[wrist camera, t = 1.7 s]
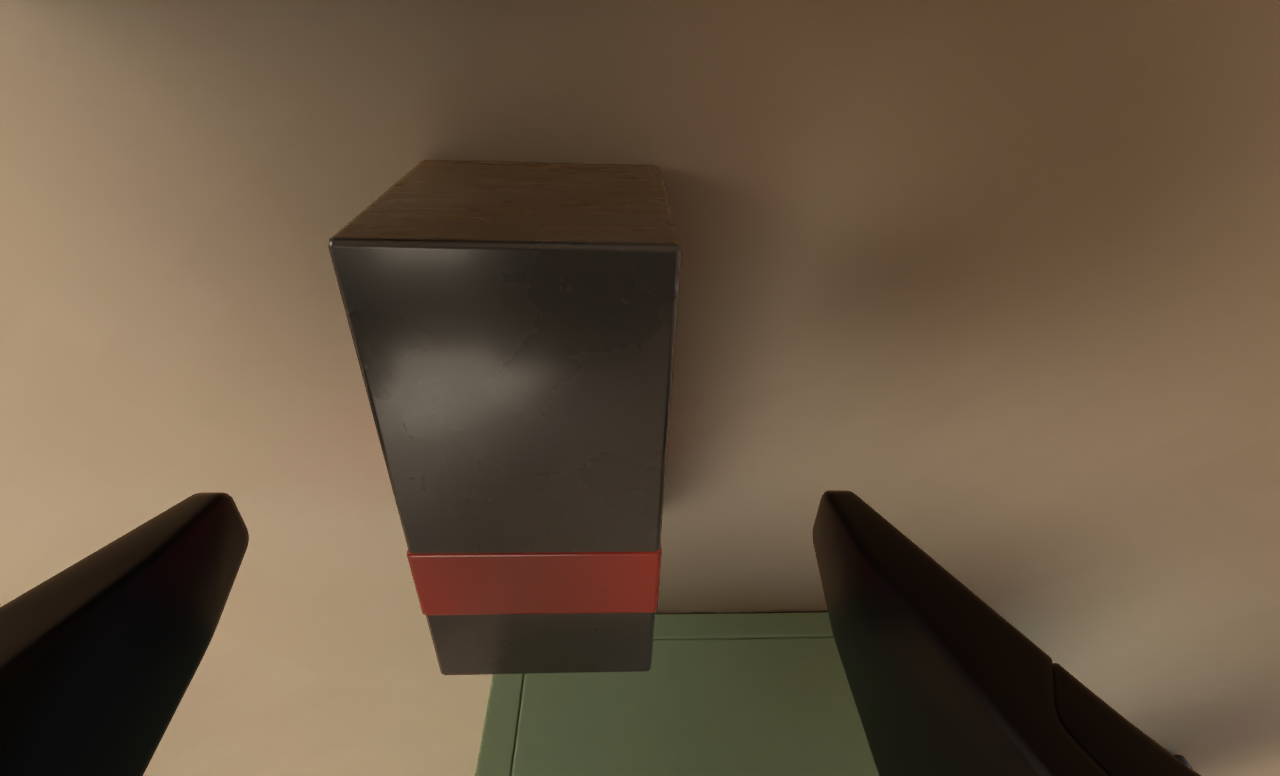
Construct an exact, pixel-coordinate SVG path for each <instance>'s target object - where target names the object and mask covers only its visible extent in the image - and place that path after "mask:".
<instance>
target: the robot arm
mask: <svg viewBox="0 0 1280 776" xmlns="http://www.w3.org/2000/svg"><path fill="white" fill-rule="evenodd" d="M248 541H249V535H248V530H247V527H246V525H245V523H244V521H243V519H242V517H241V515H240V513H239V511H238V508H237V506H236V504H235V502H234V500H233V498H232V497H231V496H230V495H228V494H226V493H197V494H194V495H192V496H190V497H189V498H187V499H185V500H183V501H182V502H180V503H178V504H177V505H175V506H173V507H171V508H170V509H168V510H166V511H165V512H163V513H161V514H159V515H158V516H156V517H154V518H153V519H151V520H149V521H148V522H146V523H144V524H142V525H141V526H139V527H137V528H136V529H134V530H132V531H130V532H129V533H127V534H125V535H124V536H122V537H120V538H118V539H117V540H115V541H113V542H112V543H110V544H108V545H106V546H105V547H103V548H101V549H100V550H98V551H96V552H94V553H93V554H91V555H89V556H88V557H86V558H84V559H82V560H81V561H79V562H77V563H76V564H74V565H72V566H70V567H69V568H67V569H65V570H64V571H62V572H60V573H59V574H57V575H55V576H53V577H52V578H50V579H48V580H47V581H45V582H43V583H41V584H40V585H38V586H36V587H35V588H33V589H31V590H29V591H28V592H26V593H24V594H23V595H21V596H19V597H17V598H16V599H14V600H12V601H11V602H9V603H7V604H5V605H4V606H2V607H0V776H143V774H144V772H145V770H146V768H147V766H148V764H149V762H150V760H151V758H152V756H153V754H154V752H155V750H156V748H157V747H158V745H159V743H160V741H161V739H162V737H163V735H164V733H165V731H166V729H167V727H168V725H169V723H170V721H171V719H172V717H173V715H174V713H175V711H176V709H177V707H178V705H179V703H180V701H181V699H182V697H183V695H184V693H185V692H186V690H187V688H188V686H189V684H190V682H191V680H192V678H193V676H194V674H195V672H196V670H197V668H198V666H199V664H200V662H201V660H202V658H203V656H204V654H205V652H206V650H207V648H208V646H209V643H210V641H211V639H212V636H213V634H214V632H215V629H216V627H217V625H218V622H219V619H220V617H221V614H222V612H223V609H224V606H225V604H226V601H227V599H228V596H229V593H230V591H231V588H232V586H233V583H234V580H235V578H236V575H237V573H238V570H239V567H240V565H241V562H242V560H243V557H244V554H245V552H246V549H247V546H248ZM813 543H814V548H815V552H816V557H817V562H818V567H819V572H820V576H821V581H822V586H823V591H824V596H825V600H826V605H827V610H828V615H829V619H830V624H831V628H832V632H833V636H834V639H835V642H836V646H837V649H838V652H839V655H840V658H841V661H842V664H843V667H844V670H845V673H846V676H847V680H848V683H849V686H850V689H851V692H852V695H853V698H854V701H855V704H856V707H857V710H858V713H859V716H860V719H861V722H862V725H863V728H864V731H865V734H866V737H867V740H868V743H869V746H870V750H871V753H872V756H873V759H874V762H875V765H876V768H877V771H878V774H879V776H1200V775H1199V774H1198V773H1196V772H1195V771H1194V770H1193V769H1192V767H1191V766H1190V764H1189V763H1188V762H1187V760H1186V759H1185V758H1184V756H1182V755H1172V754H1171V753H1169V752H1168V751H1167V750H1166V749H1164V748H1163V747H1162V746H1160V745H1159V744H1158V743H1156V742H1155V741H1154V740H1152V739H1151V738H1150V737H1148V736H1147V735H1146V734H1144V733H1143V732H1142V731H1141V730H1139V729H1138V728H1137V727H1135V726H1134V725H1133V724H1131V723H1130V722H1129V721H1127V720H1126V719H1125V718H1124V717H1122V716H1121V715H1120V714H1119V713H1117V712H1116V711H1115V710H1114V709H1113V708H1111V707H1110V706H1109V705H1108V704H1106V703H1105V702H1104V701H1103V700H1101V699H1100V698H1099V697H1098V696H1096V695H1095V694H1094V693H1093V692H1092V691H1090V690H1089V689H1088V688H1087V687H1085V686H1084V685H1083V684H1082V683H1081V682H1079V681H1078V680H1077V679H1076V678H1075V677H1073V676H1072V675H1071V674H1070V673H1069V672H1067V671H1066V670H1065V669H1064V668H1063V667H1061V666H1060V665H1059V664H1057V663H1052V659H1051V658H1050V657H1049V656H1048V655H1047V654H1046V653H1044V652H1043V651H1042V650H1041V649H1040V648H1038V647H1037V646H1036V645H1035V644H1034V643H1032V642H1031V641H1030V640H1029V639H1028V638H1026V637H1025V636H1024V635H1023V634H1022V633H1021V632H1019V631H1018V630H1017V629H1016V628H1015V627H1013V626H1012V625H1011V624H1010V623H1009V622H1007V621H1006V620H1005V619H1004V618H1003V617H1001V616H1000V615H999V614H998V613H997V612H995V611H994V610H993V609H992V608H991V607H989V606H988V605H987V604H986V603H985V602H983V601H982V600H981V599H980V598H979V597H978V596H976V595H975V594H974V593H973V592H972V591H970V590H969V589H968V588H967V587H966V586H964V585H963V584H962V583H961V582H960V581H958V580H957V579H956V578H955V577H954V576H952V575H951V574H950V573H949V572H948V571H946V570H945V569H944V568H943V567H942V566H940V565H939V564H938V563H937V562H936V561H935V560H933V559H932V558H931V557H930V556H929V555H927V554H926V553H925V552H924V551H923V550H921V549H920V548H919V547H918V546H917V545H915V544H914V543H913V542H912V541H911V540H909V539H908V538H907V537H906V536H905V535H903V534H902V533H901V532H900V531H899V530H898V529H896V528H895V527H894V526H893V525H892V524H890V523H889V522H888V521H887V520H886V519H884V518H883V517H882V516H881V515H880V514H878V513H877V512H876V511H875V510H874V509H872V508H871V507H870V506H869V505H868V504H866V503H865V502H864V501H863V500H862V499H860V498H859V497H858V496H857V495H856V494H854V493H853V492H851V491H826V492H825V493H824V494H823V495H822V498H821V501H820V505H819V508H818V512H817V516H816V519H815V523H814V527H813Z"/></svg>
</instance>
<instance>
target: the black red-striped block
mask: <svg viewBox="0 0 1280 776" xmlns="http://www.w3.org/2000/svg"><path fill="white" fill-rule="evenodd" d="M328 247H329V251H330V255H331V258H332V262H333V266H334V270H335V274H336V277H337V281H338V285H339V289H340V292H341V296H342V300H343V304H344V308H345V311H346V315H347V319H348V323H349V326H350V330H351V334H352V338H353V342H354V345H355V349H356V353H357V357H358V360H359V364H360V368H361V372H362V376H363V379H364V383H365V387H366V391H367V394H368V398H369V402H370V406H371V410H372V413H373V417H374V421H375V425H376V428H377V432H378V436H379V440H380V444H381V447H382V451H383V455H384V459H385V462H386V466H387V470H388V474H389V478H390V481H391V485H392V489H393V493H394V496H395V500H396V504H397V508H398V511H399V515H400V519H401V523H402V527H403V530H404V534H405V538H406V542H407V545H408V552H407V557H408V561H409V564H410V568H411V572H412V576H413V579H414V583H415V587H416V590H417V594H418V598H419V602H420V605H421V609H422V613H423V614H424V615H426V617H427V621H428V625H429V629H430V632H431V636H432V640H433V644H434V647H435V651H436V655H437V659H438V663H439V666H440V670H441V673H442V674H444V675H480V674H538V673H596V672H647V671H649V670H650V668H651V664H652V650H653V636H654V622H655V612H656V610H657V607H658V595H659V582H660V569H661V555H662V548H661V526H662V513H663V499H664V485H665V472H666V458H667V444H668V430H669V417H670V403H671V389H672V375H673V362H674V348H675V334H676V321H677V307H678V293H679V279H680V266H681V252H682V251H681V247H680V244H679V240H678V236H677V232H676V229H675V225H674V221H673V218H672V214H671V210H670V207H669V203H668V199H667V195H666V192H665V188H664V184H663V181H662V177H661V173H660V170H659V167H657V166H651V165H610V164H569V163H528V162H487V161H447V160H424V161H422V162H420V163H419V164H418V165H417V166H416V167H415V168H413V169H412V170H411V171H410V172H409V173H407V174H406V175H405V176H404V177H403V178H401V179H400V180H399V181H398V182H397V183H396V184H394V185H393V186H392V187H391V188H390V189H388V190H387V191H386V192H385V193H384V194H382V195H381V196H380V197H379V198H378V199H377V200H375V201H374V202H373V203H372V204H371V205H369V206H368V207H367V208H366V209H365V210H364V211H362V212H361V213H360V214H359V215H358V216H356V217H355V218H354V219H353V220H352V221H350V222H349V223H348V224H347V225H346V226H345V227H343V228H342V229H341V230H340V231H339V232H337V233H336V234H335V235H334V236H333V237H331V238H330V239H329V244H328Z"/></svg>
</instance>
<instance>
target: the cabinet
mask: <svg viewBox="0 0 1280 776" xmlns="http://www.w3.org/2000/svg"><path fill="white" fill-rule="evenodd" d="M475 776H879V774H878V771H877V768H876V765H875V762H874V759H873V756H872V753H871V750H870V746H869V743H868V740H867V737H866V734H865V731H864V728H863V725H862V722H861V719H860V716H859V713H858V710H857V707H856V704H855V701H854V698H853V695H852V692H851V689H850V686H849V683H848V680H847V676H846V673H845V670H844V667H843V664H842V661H841V658H840V655H839V652H838V649H837V646H836V642H835V639H834V636H833V632H832V628H831V624H830V619H829V615H828V612H807V613H727V614H655V622H654V636H653V650H652V664H651V668H650V670H649V671H647V672H596V673H538V674H493V678H492V683H491V689H490V694H489V700H488V706H487V711H486V717H485V723H484V728H483V734H482V739H481V745H480V751H479V756H478V762H477V768H476V773H475Z"/></svg>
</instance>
